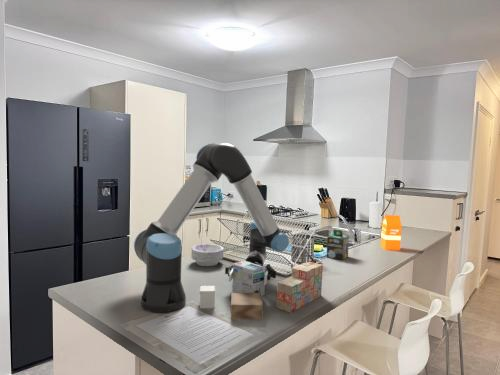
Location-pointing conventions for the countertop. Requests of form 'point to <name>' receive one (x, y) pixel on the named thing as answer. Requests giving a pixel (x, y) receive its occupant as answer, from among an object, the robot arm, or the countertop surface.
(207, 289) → the off-white block
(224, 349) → the countertop surface
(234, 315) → the walnut block
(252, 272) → the light bulb box
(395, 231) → the orange juice
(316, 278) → the stack of blocks
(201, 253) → the paper bowls
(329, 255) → the chalk box
